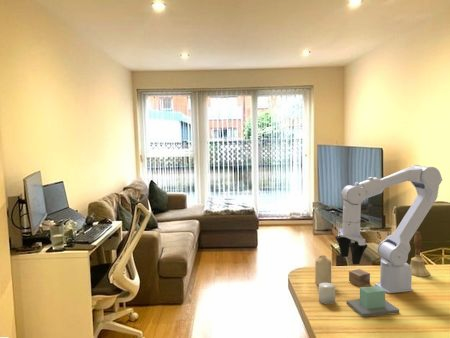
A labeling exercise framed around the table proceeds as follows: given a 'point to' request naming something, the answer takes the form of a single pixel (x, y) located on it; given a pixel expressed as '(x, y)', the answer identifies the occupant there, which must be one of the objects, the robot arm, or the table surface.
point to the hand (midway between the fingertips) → (350, 260)
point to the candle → (322, 270)
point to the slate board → (374, 311)
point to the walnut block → (359, 277)
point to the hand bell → (418, 259)
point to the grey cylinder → (327, 293)
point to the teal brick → (372, 297)
